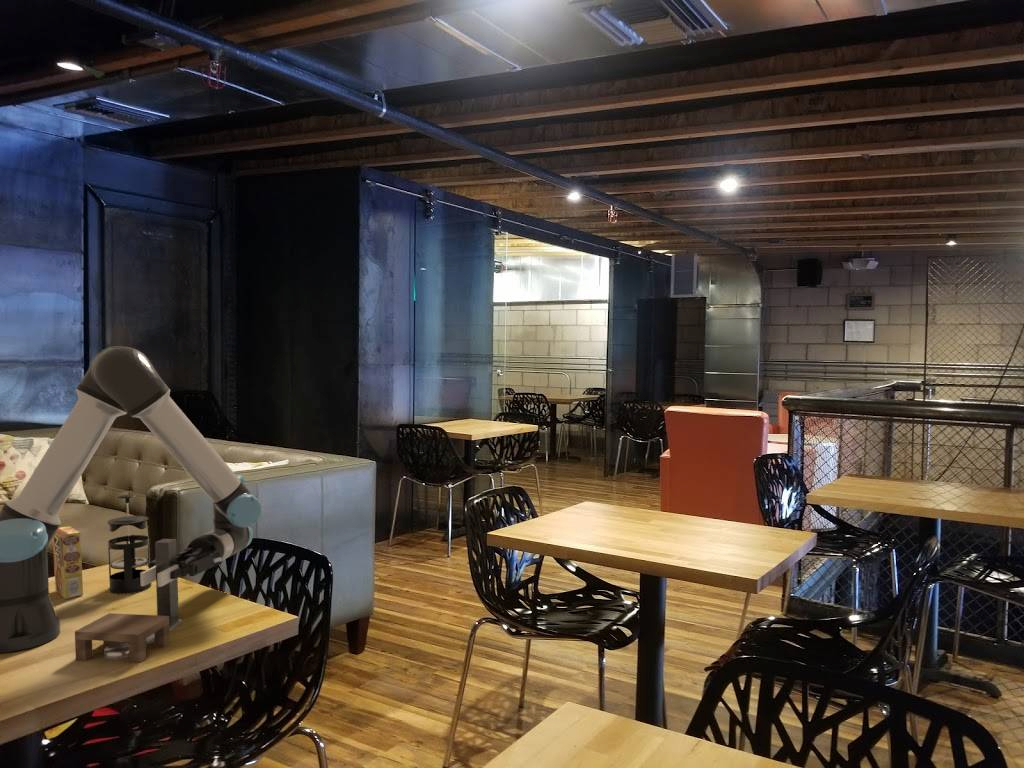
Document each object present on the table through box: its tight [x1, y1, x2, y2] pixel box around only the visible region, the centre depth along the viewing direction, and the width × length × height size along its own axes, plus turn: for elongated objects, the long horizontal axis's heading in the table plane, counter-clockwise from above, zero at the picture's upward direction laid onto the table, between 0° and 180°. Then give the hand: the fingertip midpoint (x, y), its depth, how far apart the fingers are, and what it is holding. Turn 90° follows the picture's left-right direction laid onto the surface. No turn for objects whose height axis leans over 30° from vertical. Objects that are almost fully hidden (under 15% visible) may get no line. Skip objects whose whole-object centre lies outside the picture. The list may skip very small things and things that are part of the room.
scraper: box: [114, 538, 183, 649], centre depth 160 cm, size 6×15×18 cm, turn 172°
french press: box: [106, 493, 152, 595], centre depth 191 cm, size 12×9×23 cm
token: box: [103, 643, 129, 661], centre depth 151 cm, size 5×5×2 cm
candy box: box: [52, 526, 84, 599], centre depth 187 cm, size 9×4×15 cm, turn 44°
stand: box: [74, 612, 171, 664], centre depth 152 cm, size 13×10×6 cm
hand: (150, 579), depth 160 cm, fingers closed on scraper, 3 cm apart
